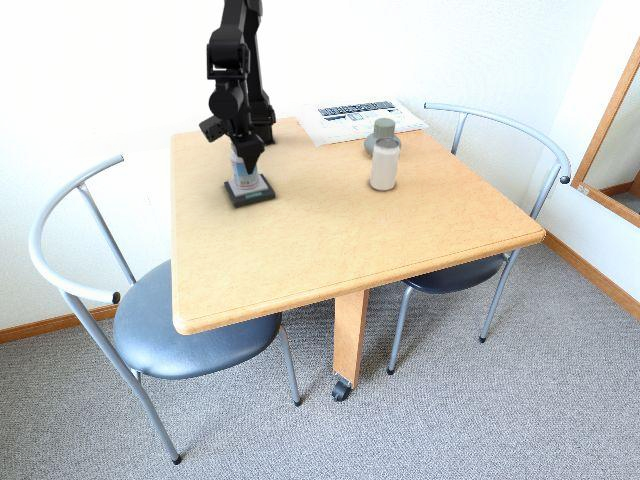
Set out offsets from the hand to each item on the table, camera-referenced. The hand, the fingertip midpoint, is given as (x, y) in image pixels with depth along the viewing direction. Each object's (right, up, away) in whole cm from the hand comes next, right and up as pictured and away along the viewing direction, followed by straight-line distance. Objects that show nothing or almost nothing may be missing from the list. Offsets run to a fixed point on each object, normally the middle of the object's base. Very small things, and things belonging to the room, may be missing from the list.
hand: (244, 165), depth 90 cm
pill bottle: (0, -4, +4) cm, 6 cm away
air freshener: (+37, +7, +20) cm, 43 cm away
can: (+35, -4, +7) cm, 36 cm away
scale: (0, -6, +4) cm, 8 cm away
